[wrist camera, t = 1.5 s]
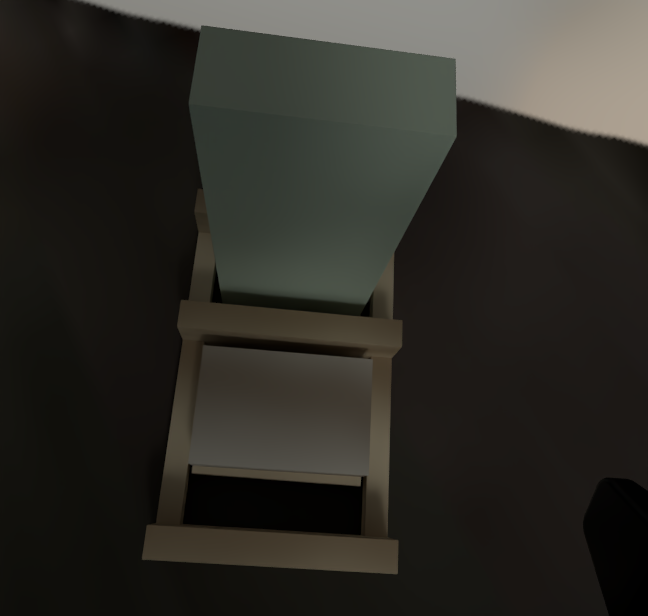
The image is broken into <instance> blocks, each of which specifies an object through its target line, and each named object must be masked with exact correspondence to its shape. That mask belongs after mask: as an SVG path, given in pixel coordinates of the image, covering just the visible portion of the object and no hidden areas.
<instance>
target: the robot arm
mask: <svg viewBox="0 0 648 616" xmlns="http://www.w3.org/2000/svg"><path fill="white" fill-rule="evenodd" d="M583 529H584V534H585V538H586V541H587V544H588V548H589V551H590V554H591V558H592V561H593V564H594V567H595V571H596V574H597V577H598V581H599V584H600V587H601V590H602V594H603V597H604V600H605V603H606V607H607V610H608V613H609V616H648V491H647V490H646V489H644V488H643V487H641V486H640V485H638V484H637V483H635V482H634V481H632V480H629V479H621V478H604V479H602V480H601V481H600V482H599V483H598V485H597V487H596V490H595V492H594V494H593V497H592V499H591V501H590V504H589V506H588V508H587V511H586V513H585V516H584V521H583Z"/></svg>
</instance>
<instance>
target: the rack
mask: <svg viewBox="0 0 648 616" xmlns="http://www.w3.org/2000/svg"><path fill="white" fill-rule="evenodd" d="M194 213H195V217H196V222H197V227H198V231H199V233H198V240H197V247H196V254H195V260H194V267H193V274H192V281H191V288H190V295H189V300H181V304H180V310H179V317H178V324H177V328H178V330H179V332H180V334H181V337H182V339H183V342H182V349H181V356H180V363H179V370H178V376H177V383H176V390H175V397H174V404H173V411H172V417H171V424H170V431H169V438H168V445H167V451H166V458H165V465H164V472H163V479H162V486H161V492H160V499H159V506H158V513H157V520H156V523H155V524H149V525H147V528H146V535H145V542H144V548H143V555H142V560H159V561H177V562H195V563H212V564H230V565H247V566H265V567H282V568H300V569H318V570H335V571H353V572H370V573H388V574H398V540H395V539H391V538H387V528H388V487H389V446H390V405H391V364H392V357H393V356H394V355H395V354H396V353H397V352H398V350H399V349H400V348H401V347H402V320H393V281H394V253H393V255H392V257H391V259H390V261H389V263H388V264H387V266H386V268H385V270H384V272H383V274H382V276H381V277H380V279H379V281H378V283H377V285H376V287H375V289H374V290H373V292H372V294H371V296H370V312H369V317H361V316H350V315H339V314H328V313H318V312H307V311H296V310H286V309H275V308H264V307H253V306H243V305H232V304H221V303H212V299H213V291H214V283H215V276H216V262H215V256H214V250H213V245H212V239H211V233H210V227H209V221H208V215H207V209H206V204H205V198H204V192H203V189H198V191H197V198H196V204H195V211H194ZM400 241H401V240H400ZM394 252H395V251H394ZM203 345H207V346H219V347H231V348H243V349H255V350H267V351H279V352H291V353H303V354H315V355H327V356H339V357H351V358H363V359H373V368H372V397H371V427H370V457H369V476H364V477H363V495H362V521H361V535H350V534H334V533H318V532H302V531H286V530H270V529H254V528H237V527H221V526H205V525H189V524H183V517H184V510H185V502H186V495H187V487H188V480H189V472H190V464H188V460H189V452H190V445H191V437H192V429H193V421H194V414H195V406H196V398H197V390H198V383H199V375H200V367H201V359H202V352H203Z"/></svg>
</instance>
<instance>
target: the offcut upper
mask: <svg viewBox="0 0 648 616" xmlns="http://www.w3.org/2000/svg"><path fill="white" fill-rule="evenodd" d="M372 368H373V359H363V358H351V357H339V356H327V355H315V354H303V353H291V352H279V351H267V350H255V349H243V348H231V347H219V346H207V345H203V352H202V359H201V367H200V375H199V383H198V390H197V398H196V406H195V414H194V421H193V429H192V437H191V445H190V452H189V460H188V464H190V465H192V466H204V467H219V468H234V469H249V470H264V471H279V472H294V473H309V474H324V475H339V476H354V477H364V476H369V457H370V427H371V397H372Z"/></svg>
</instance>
